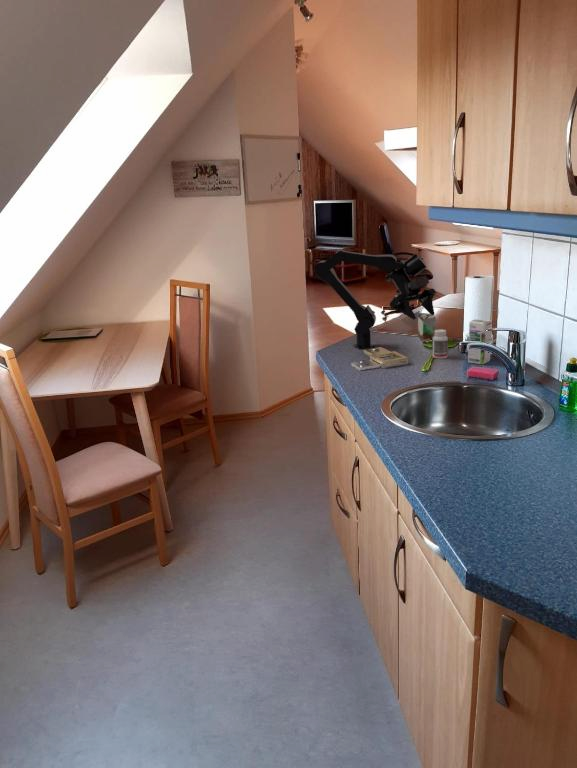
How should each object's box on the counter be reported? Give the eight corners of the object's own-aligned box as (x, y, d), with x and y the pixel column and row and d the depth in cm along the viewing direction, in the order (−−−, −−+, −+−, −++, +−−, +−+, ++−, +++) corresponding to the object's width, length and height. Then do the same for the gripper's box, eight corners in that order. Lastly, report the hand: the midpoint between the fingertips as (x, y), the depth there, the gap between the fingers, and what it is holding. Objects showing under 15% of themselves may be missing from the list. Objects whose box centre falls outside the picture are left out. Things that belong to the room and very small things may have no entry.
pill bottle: (450, 357, 218) (451, 330, 215) (438, 359, 216) (438, 333, 213) (441, 354, 223) (441, 328, 220) (429, 356, 221) (429, 330, 218)
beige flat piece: (340, 359, 225) (339, 351, 224) (383, 352, 230) (383, 344, 229) (361, 371, 208) (361, 363, 207) (408, 363, 214) (408, 356, 213)
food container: (439, 343, 237) (439, 318, 234) (423, 344, 237) (423, 319, 234) (432, 336, 249) (432, 312, 245) (417, 337, 249) (417, 312, 246)
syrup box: (467, 362, 211) (468, 321, 206) (475, 358, 215) (476, 318, 210) (482, 365, 207) (484, 323, 202) (490, 360, 211) (492, 319, 206)
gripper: (394, 272, 216) (416, 307, 211) (432, 266, 225) (454, 299, 220) (380, 292, 225) (400, 326, 220) (418, 285, 234) (438, 317, 229)
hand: (424, 316), depth 222 cm, fingers open, 9 cm apart
